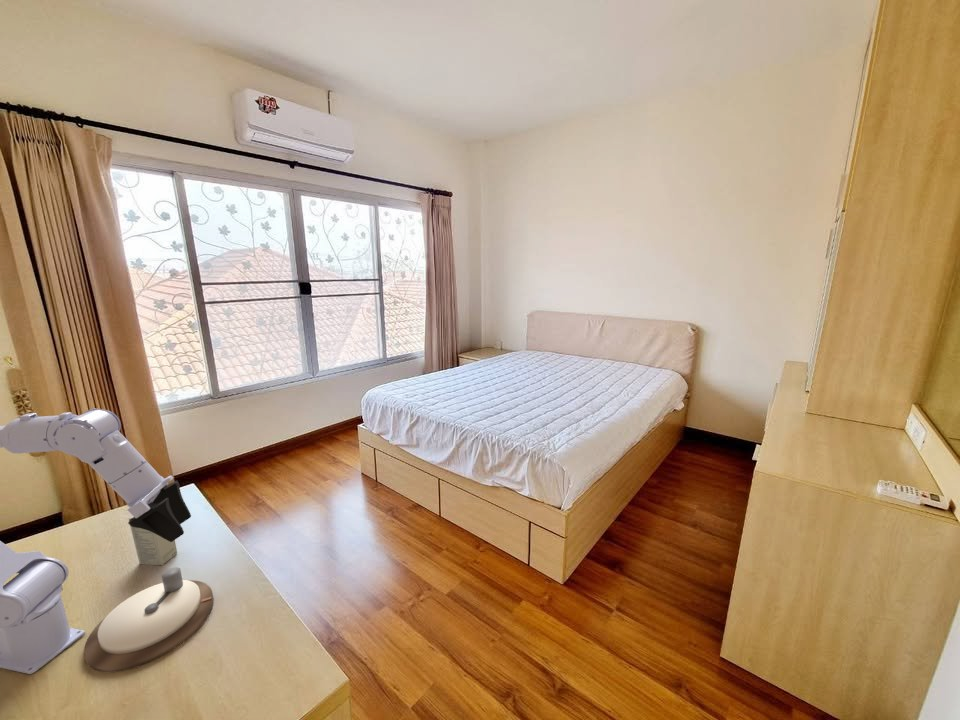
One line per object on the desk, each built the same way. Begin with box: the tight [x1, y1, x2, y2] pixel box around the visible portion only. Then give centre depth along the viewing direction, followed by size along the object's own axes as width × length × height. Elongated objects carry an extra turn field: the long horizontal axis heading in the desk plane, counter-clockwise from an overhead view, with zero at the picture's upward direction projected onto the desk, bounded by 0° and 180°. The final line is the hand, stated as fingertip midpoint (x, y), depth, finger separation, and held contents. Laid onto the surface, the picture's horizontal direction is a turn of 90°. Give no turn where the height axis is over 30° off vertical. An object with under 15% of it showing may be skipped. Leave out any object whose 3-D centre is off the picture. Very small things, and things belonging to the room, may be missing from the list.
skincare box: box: [128, 515, 178, 566], centre depth 90 cm, size 6×4×12 cm
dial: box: [98, 566, 201, 654], centre depth 73 cm, size 15×15×5 cm
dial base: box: [83, 579, 215, 673], centre depth 74 cm, size 19×19×1 cm
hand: (181, 528), depth 70 cm, fingers open, 7 cm apart
